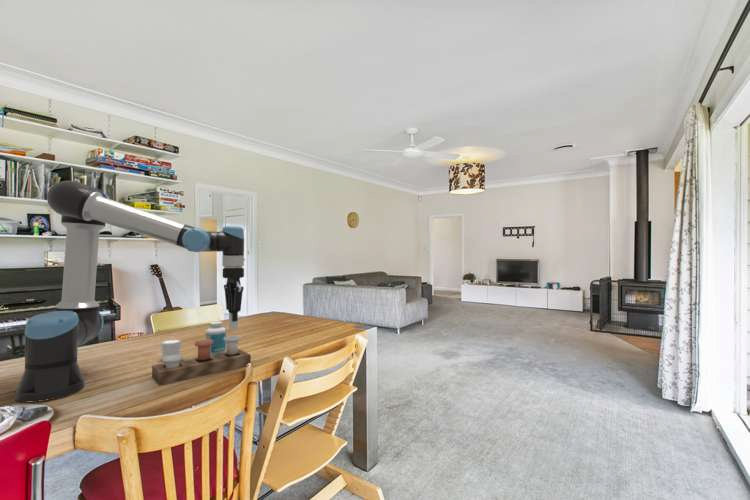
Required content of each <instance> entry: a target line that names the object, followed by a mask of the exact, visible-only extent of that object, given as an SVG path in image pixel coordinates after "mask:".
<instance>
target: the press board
mask: <svg viewBox="0 0 750 500" xmlns="http://www.w3.org/2000/svg"><path fill="white" fill-rule="evenodd" d="M251 357H252V355H251V354H250V353H248V352H246V351H244V350H242V349H239V348H238V353H237V354H233V355H228V354H226V352H222V353H217V354H211V355H210V359H207V360H198V356H196V357H190V358H185V359H184V358H183V360H182V361H180V362H179V367H175V368H170V369H166V363H163V362H162V363H157V364H156V363H155V364H152V365H151V378H152V379H153V380H154V381H155V382H156V384H157V385H158V386H163V385H167V384H172V383H176V382H182V381H185V380H190V379H195V378H199V377H203V376H208V375H212V374H218V373H222V372H227V371H232V370H237V369H240V367H241V368H244V367H245V366H246V365H247V364H248V363H251V362H252V361H251ZM246 367H247V366H246Z"/></svg>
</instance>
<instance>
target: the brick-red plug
mask: <svg viewBox="0 0 750 500" xmlns="http://www.w3.org/2000/svg"><path fill="white" fill-rule="evenodd" d="M210 345H213V340H206V339H199V340H196V341H195V342H194V347H197V357H198V360H207V359H210Z"/></svg>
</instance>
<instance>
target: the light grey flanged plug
mask: <svg viewBox="0 0 750 500" xmlns="http://www.w3.org/2000/svg"><path fill="white" fill-rule="evenodd" d="M160 345H161V357H162V359H163V358H164V357H166V356H170V355H181V353H180V352H181V345H182V340H180V339H168V340H164V341H162V342H161V343H160Z"/></svg>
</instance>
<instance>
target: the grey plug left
mask: <svg viewBox="0 0 750 500" xmlns="http://www.w3.org/2000/svg"><path fill="white" fill-rule="evenodd" d="M182 360H184V356H183V354H180V355H170V356H166V357H164V358H162V363H166V369H170V368H175V367H179V362H180V361H182Z"/></svg>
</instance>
